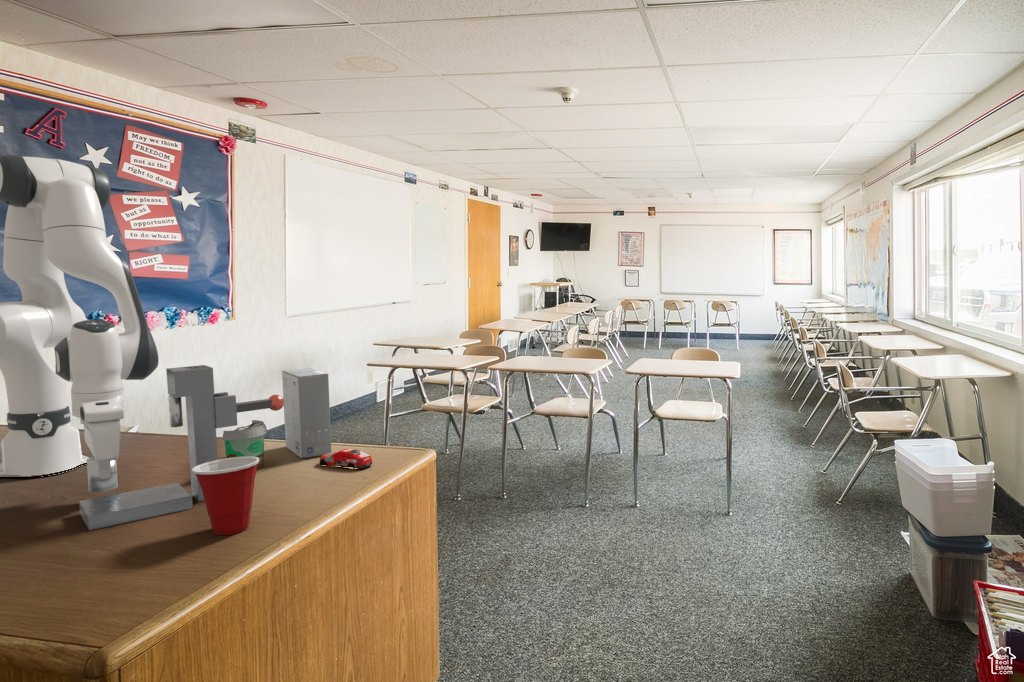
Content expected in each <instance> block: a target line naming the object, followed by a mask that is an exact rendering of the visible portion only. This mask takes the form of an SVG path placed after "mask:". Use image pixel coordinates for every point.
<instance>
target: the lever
mask: <svg viewBox="0 0 1024 682" xmlns="http://www.w3.org/2000/svg"><path fill="white" fill-rule="evenodd" d="M282 408H284V399H283V396H282V395H279V394H272V395H270V396H269V397H268V398H264V399H258V400H257V399H256V400H251V401H249V400H248V401H243V402H242V401H241V402H240V401H239V402H236V409H237V414H239V413H244V412H250V411H252V412H253V411H258V410H267V409H269V410H271V411H274V412H275V411H276V412H277V411H280V410H282Z"/></svg>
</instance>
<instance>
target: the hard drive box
mask: <svg viewBox="0 0 1024 682" xmlns="http://www.w3.org/2000/svg"><path fill="white" fill-rule="evenodd" d="M281 375H282V376H281V377H282V378H281V379H282V395H283V396H282V398H283V399H284V406H283V416H284V417H283V418H284V434H285V437H284V439H285V447H286V448H287V449H289V451H292V453H294V454H295V455H296V456H297V457H298V458H300V459H306V458H311V457H312V458H313V457H321V456H322V455H324V454H328V453H333V452H332V432H331V431H332V429H331V408H330V407H331V406H330V385H329V383H330V381H329V373H327V372H324V371H321V370H318V369H314V368H307V367H306V368H298V369H297V368H296V369H286V370H285V369H284V370H282V371H281Z"/></svg>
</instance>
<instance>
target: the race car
mask: <svg viewBox="0 0 1024 682" xmlns="http://www.w3.org/2000/svg"><path fill="white" fill-rule="evenodd" d="M371 464H372V465H373V459H372V455H371V454H368V453H366V452H364V451H362V450H360V449H359V450H358V449H355V448H345V449H341V450H339V451H337V452H332V453H328V454H324V455H321V456H319V465H320V466H321V465H326V466H327V467H329V466H341V467H353V468H362V469H364V468H363V467H366V466H367V467H370V466H372V465H371ZM369 465H370V466H369ZM367 467H366V468H367Z"/></svg>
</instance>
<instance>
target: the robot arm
mask: <svg viewBox="0 0 1024 682" xmlns="http://www.w3.org/2000/svg"><path fill="white" fill-rule="evenodd" d="M111 187H112V186H111V182H110V179H109V177H108V175H107V174H106V173H105V171H104V170H102V169H100V168H98V167H95V166H92V165H89V164H80V163H77V162H72V161H69V160H64V159H61V158H60V159H59V158H46V157H38V156H22V155H20V154H15V153H14V154H12V153H11V154H1V155H0V203H3V204H5V205H8V208H7V212H6V217H5V222H4V234H3V235H4V237H3V262H2V263H3V264H2V269H3V271H4V274H5V275H6V277H8V278H9V279H10V280H12V281H13V282H15V283H16V284H17V286H18V287H19V289H20V292H21V297H22V301H6V302H5V301H3V302H0V371H1V374H2V376H3V380H4V383H5V389H6V391H5V392H6V396H7V407H8V412H7V413H6V423H7V429H8V432H7V434H6V435H4V437H3V438H2V439H1V442H0V455H1V456H0V462H1V463H0V475H19V476H31V475H42V474H50V473H55V472H60V471H64V470H68V469H71V468H74V467H76V466H78V465H80V464H83V463H87V459H88V458H90V457H88V456H86V455H83V453H82V445H81V438H80V431H79V429H78V428H76V427H75V426H73V425H72V424H71V415H72V416H73V417H75V418H79V419H80V420H79V421H80V422H79V423H80V424H81V425H83V437H84V441H85V442H86V445H87V447H88V448H89V450H90V452H91V454H92V457H95V459H96V461H97V462H98V468H99V469H98V472H99V477H100V479H106V478H109V477H110V466H111V461H115V460H116V461H118V460H119V456H120V451H121V430H122V427H121V426H122V425H121V420H123V419H124V417H125V410H126V409H125V390H124V389H125V386H124V382H123V381H122V380H125V381H134V380H135V381H143V380H145V379H146V378H148V377H149V376H150V375H152V373H154V372H155V370H156V369H157V368H158V367H159V351H158V348H157V345H156V342H155V339H154V336H153V335H152V332H151V329H150V328H149V327H150V326H149V325H148V321H147V318H146V315H145V311H144V308H143V305H142V301H141V298H140V296H139V292H138V288H137V285H136V282H135V279H134V276H133V274H132V270H131V269H130V266H129V265H128V263H127V261H126V259H124V258H122V257H120V256H119V255H117V254H116V252H114V250H113V249H112V247H111V245H110V244H109V241H108V238H107V233H106V232H107V230H106V224H105V218H104V213H103V210H104V209H106V207H107V206H108V204H109V202H110V199H111V195H112V188H111ZM65 274H67V275H69V276H71V277H74V278H77V279H80V280H83V281H87V282H90V283H93V284H95V285H98V286H100V287H102V288H104V289H106V290H107V291H109V293H111V295H112V296H113V297H114V299H115V302H116V305H117V309H118V311H119V315H120V317H121V318H120V319H121V321H122V324H123V325H122V326H123V328H124V332H121V333H119V331H118V326H117V325H116V324H114V323H113V322H110V321H109V320H101V319H89V320H88V319H87V318H86V315H85V312H84V310H83V309H82V308H81V307H80V306H79V305H78V304H76V302H74V300H73V298H72V297H71V295H70V293H69V290H68V288H67V285H66V281H65ZM52 347H53V349H54V356H55V357H54V358H55V366H52V365H51V363H50V362H49V361H48V359H47V357H46V354H45V351H44V349H46V348H52ZM66 382H69V383H70V382H71V383H72V385H71V389H70V396H71V397H70V398H71V411H72V412H71V411H70V406H68V402H67V389H66Z"/></svg>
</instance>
